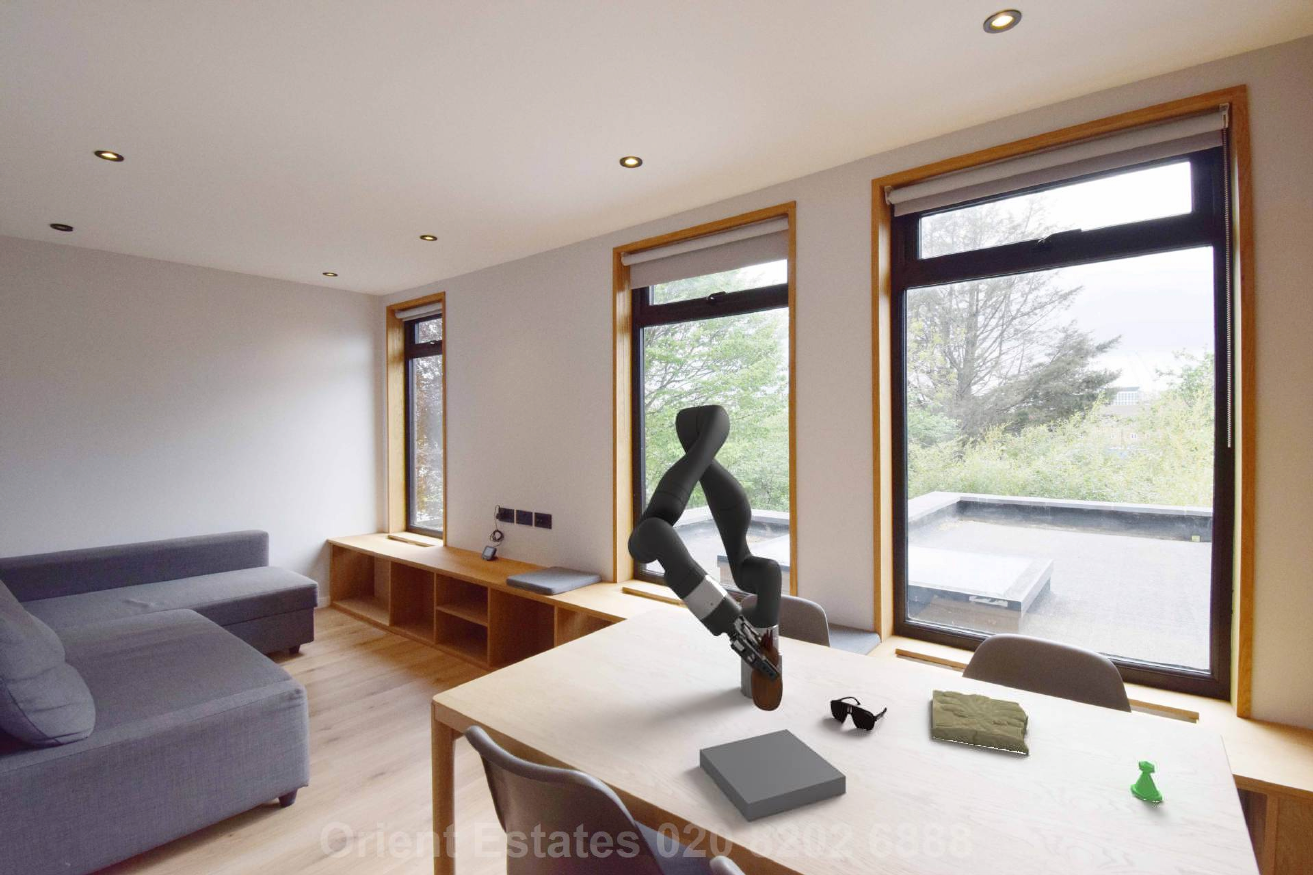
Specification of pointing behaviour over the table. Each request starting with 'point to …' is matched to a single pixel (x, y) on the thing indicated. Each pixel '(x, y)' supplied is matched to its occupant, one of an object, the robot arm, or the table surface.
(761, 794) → the block
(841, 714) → the sunglasses
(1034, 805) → the table surface
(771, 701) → the wooden figurine
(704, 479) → the robot arm
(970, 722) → the decorative tile
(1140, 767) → the game piece
